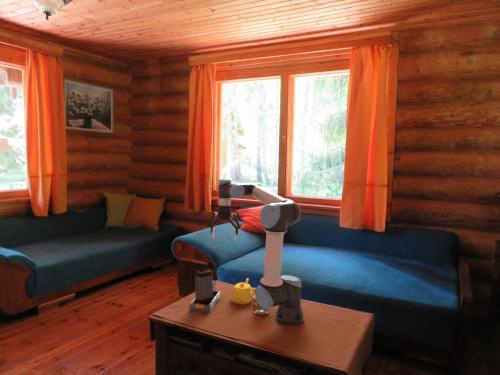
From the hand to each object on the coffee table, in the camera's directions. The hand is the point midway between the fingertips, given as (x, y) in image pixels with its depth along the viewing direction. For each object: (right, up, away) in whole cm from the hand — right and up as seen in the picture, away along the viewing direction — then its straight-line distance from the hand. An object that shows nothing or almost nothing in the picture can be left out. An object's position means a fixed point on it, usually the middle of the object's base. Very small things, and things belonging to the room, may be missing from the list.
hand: (224, 239), depth 223 cm
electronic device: (-11, -37, -11) cm, 40 cm away
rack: (-10, -37, -7) cm, 39 cm away
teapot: (+12, -37, -1) cm, 39 cm away
